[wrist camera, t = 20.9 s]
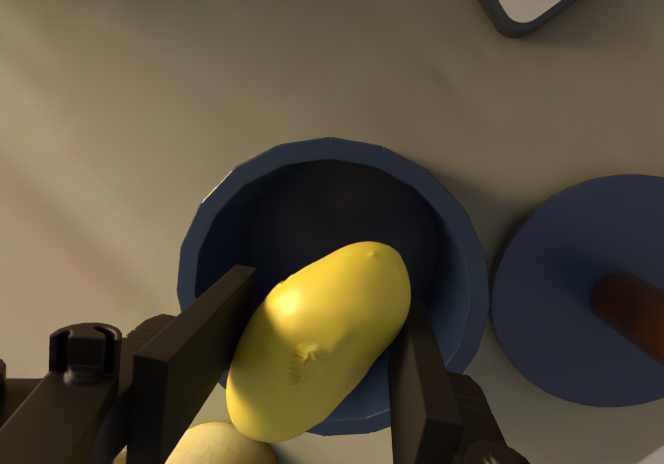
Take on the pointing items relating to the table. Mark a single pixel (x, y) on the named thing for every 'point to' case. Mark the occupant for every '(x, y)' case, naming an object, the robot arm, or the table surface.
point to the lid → (587, 293)
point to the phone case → (522, 14)
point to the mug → (216, 447)
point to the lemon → (316, 340)
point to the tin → (337, 232)
